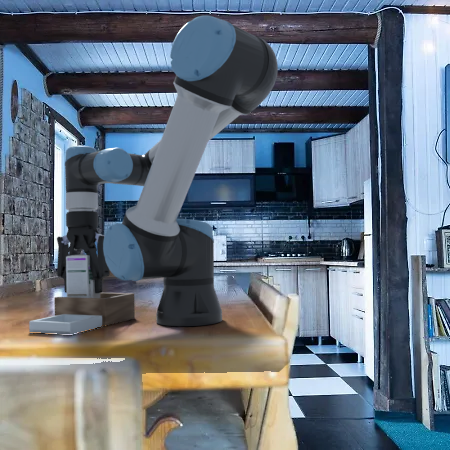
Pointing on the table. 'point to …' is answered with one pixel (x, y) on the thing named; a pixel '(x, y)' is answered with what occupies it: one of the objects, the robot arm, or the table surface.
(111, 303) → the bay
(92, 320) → the tray
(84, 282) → the syrup box
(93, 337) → the table surface
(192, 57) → the robot arm
